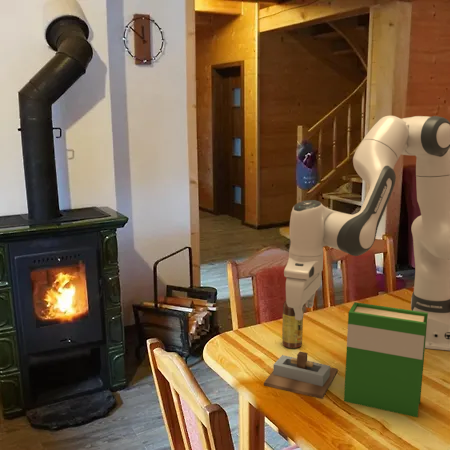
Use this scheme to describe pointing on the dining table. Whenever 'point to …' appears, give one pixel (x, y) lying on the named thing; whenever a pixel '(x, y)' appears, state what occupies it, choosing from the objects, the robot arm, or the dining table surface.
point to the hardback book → (385, 358)
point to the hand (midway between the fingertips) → (304, 312)
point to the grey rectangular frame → (302, 371)
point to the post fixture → (299, 385)
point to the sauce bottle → (291, 328)
